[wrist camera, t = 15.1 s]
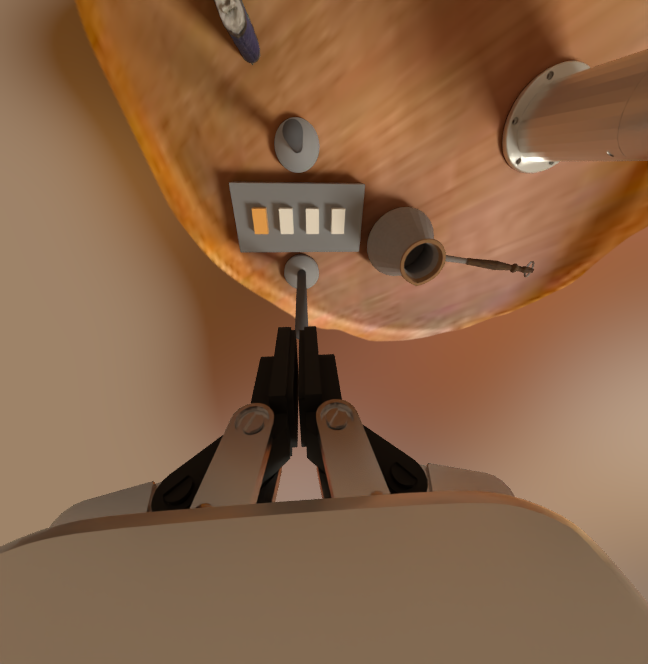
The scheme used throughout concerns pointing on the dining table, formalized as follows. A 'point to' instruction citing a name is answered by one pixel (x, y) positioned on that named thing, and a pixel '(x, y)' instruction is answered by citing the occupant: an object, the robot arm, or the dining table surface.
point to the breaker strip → (298, 216)
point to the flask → (239, 28)
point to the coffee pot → (416, 248)
